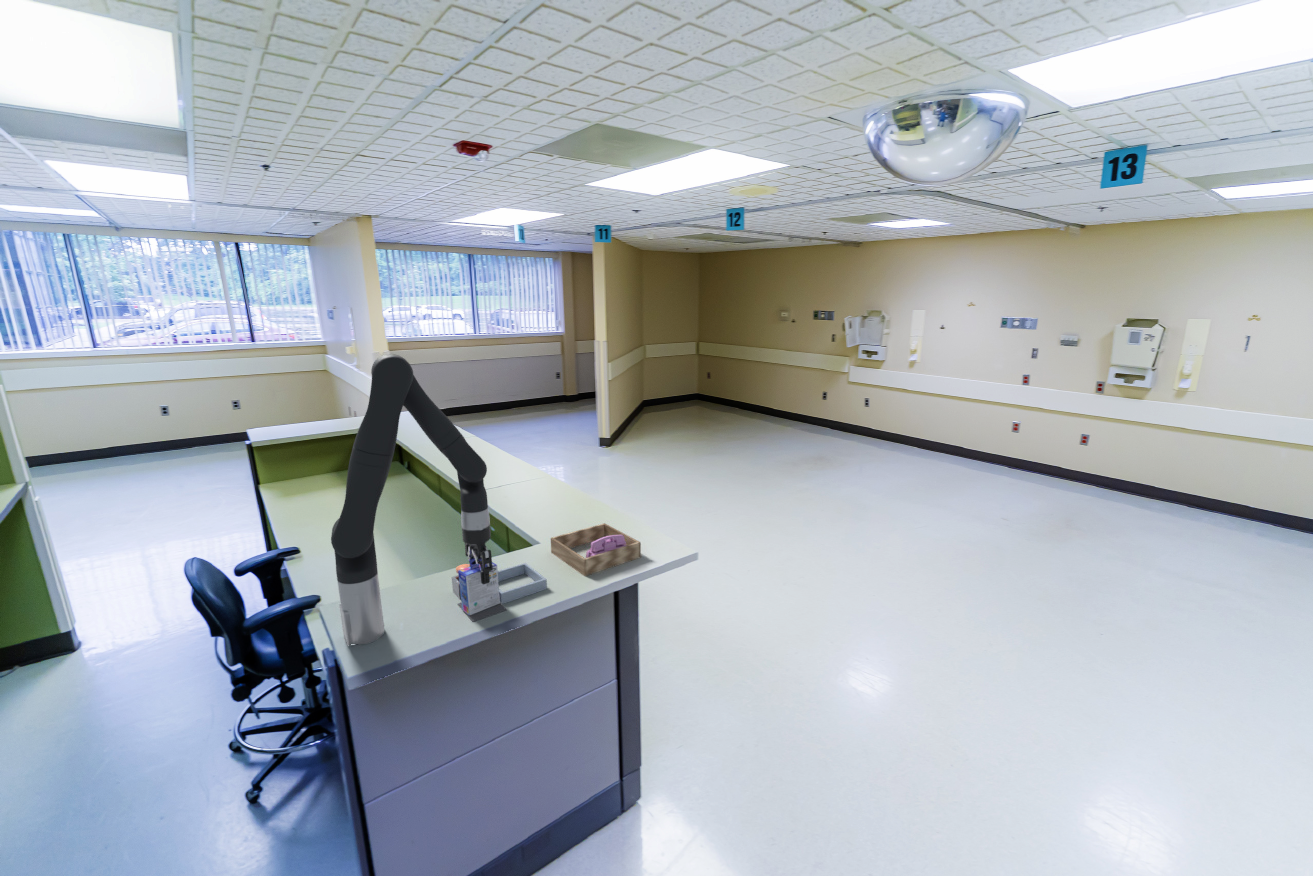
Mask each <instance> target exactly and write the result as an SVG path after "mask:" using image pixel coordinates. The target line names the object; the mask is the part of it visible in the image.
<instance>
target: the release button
mask: <svg viewBox="0 0 1313 876" xmlns="http://www.w3.org/2000/svg"><path fill="white" fill-rule="evenodd" d="M467 567H470V564H469V563H463V564H459V565H458V566H456V567H455V572H456V574H458V571H459V570H462V569H465V568H467Z"/></svg>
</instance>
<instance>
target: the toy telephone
mask: <svg viewBox="0 0 1313 876" xmlns="http://www.w3.org/2000/svg"><path fill="white" fill-rule="evenodd" d="M625 544H626V542H625V539H624V536H623V535H611V536H606V537H602V538H600V539H598V540H596V541H593V542H590V548H589V549H588V550H586V553H585V558H588V557H591V556H594V555H597V554H601V553H604V552H607V551H610V550H614V549H617V548H620V547H623V546H626V545H625Z"/></svg>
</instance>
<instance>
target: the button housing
mask: <svg viewBox="0 0 1313 876" xmlns="http://www.w3.org/2000/svg"><path fill="white" fill-rule="evenodd" d="M451 585H452V586H451V587H452V593H454V595H455V596H456V597H457V599H458V600H461V593H460V584H459V575H454V576H451Z"/></svg>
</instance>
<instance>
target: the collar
mask: <svg viewBox="0 0 1313 876" xmlns="http://www.w3.org/2000/svg"><path fill="white" fill-rule="evenodd" d="M524 574H525V575H526V576H527V577H529V578H530V579H531V580H532V581H533V582H530V583H526V584H523V585H520V586H516V587H513V588H510V589H508V590H504V591H503V590H501V589H500V588H499V596H500V603H501V604H502V605H504V604H507V603H509V602H513V601H515V600H518V599H521V598H524V597H527V596H529V595H534V594H536V593H538V592H541V591H545V590H548V586H547V585H548V582H547V581H548V580H547V578H546V577H545V576H543V575H542V574H540V573H539V572H538V571H537V570H535V569H534V568H533V567H532V566H531V565H529V564H528V563H527V562H523V563H520V564H516V565H513V566H510V567H507V568H504V569H499V570H498V582H501V581H504V580H508V579H511V578H514V577H517V576H521V575H524Z"/></svg>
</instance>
